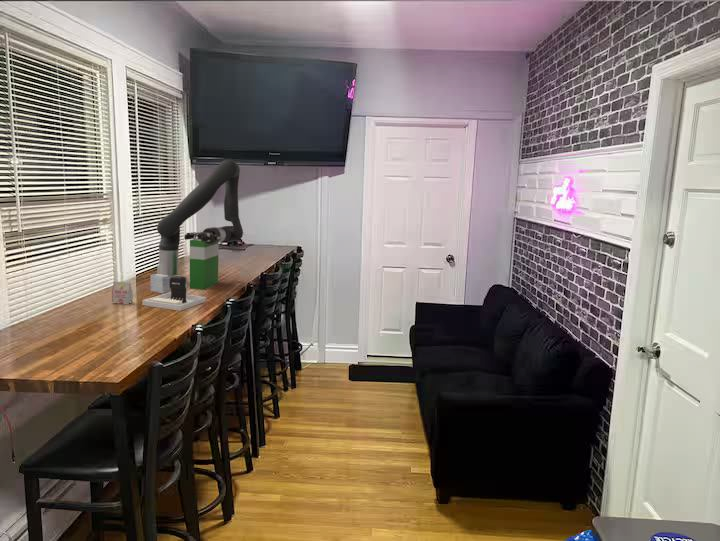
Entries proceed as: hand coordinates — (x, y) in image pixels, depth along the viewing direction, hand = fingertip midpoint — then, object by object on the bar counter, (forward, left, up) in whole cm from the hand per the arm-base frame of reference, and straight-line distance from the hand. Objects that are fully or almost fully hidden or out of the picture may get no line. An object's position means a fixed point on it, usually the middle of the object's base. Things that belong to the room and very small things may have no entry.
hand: (193, 238), depth 217 cm
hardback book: (-12, +27, -28) cm, 41 cm away
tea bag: (-18, -23, -28) cm, 40 cm away
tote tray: (0, -13, -28) cm, 31 cm away
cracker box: (0, -19, -27) cm, 33 cm away
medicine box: (-19, +2, -28) cm, 34 cm away
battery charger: (0, -11, -27) cm, 29 cm away
